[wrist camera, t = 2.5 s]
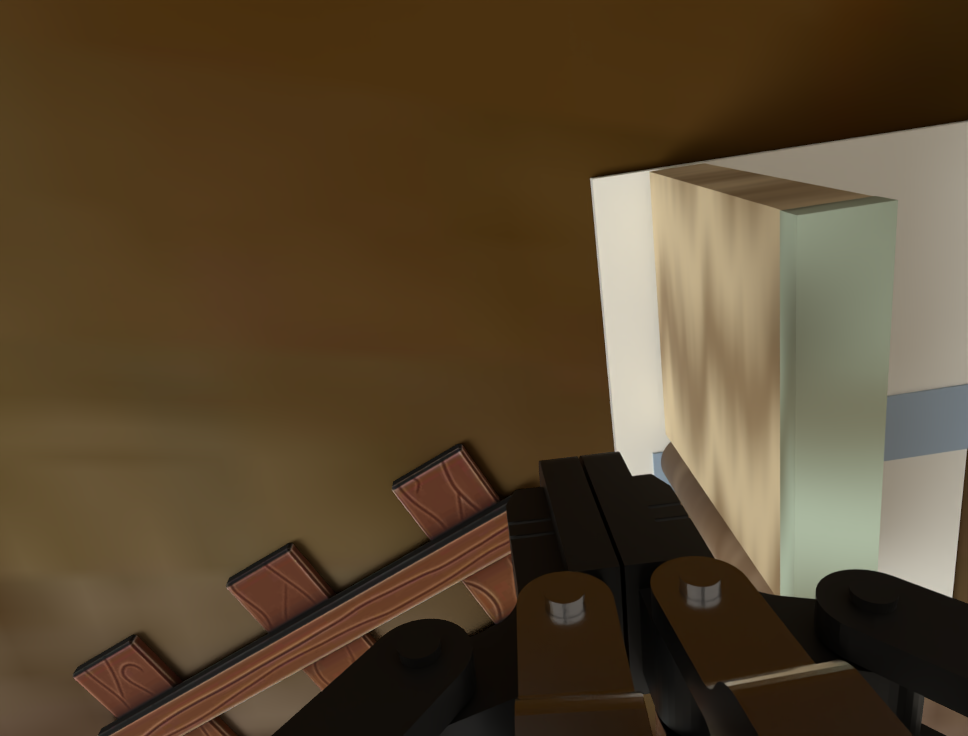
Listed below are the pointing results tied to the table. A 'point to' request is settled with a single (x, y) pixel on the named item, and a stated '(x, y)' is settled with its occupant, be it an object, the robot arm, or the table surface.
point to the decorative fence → (319, 610)
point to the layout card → (914, 325)
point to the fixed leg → (708, 518)
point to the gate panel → (778, 360)
